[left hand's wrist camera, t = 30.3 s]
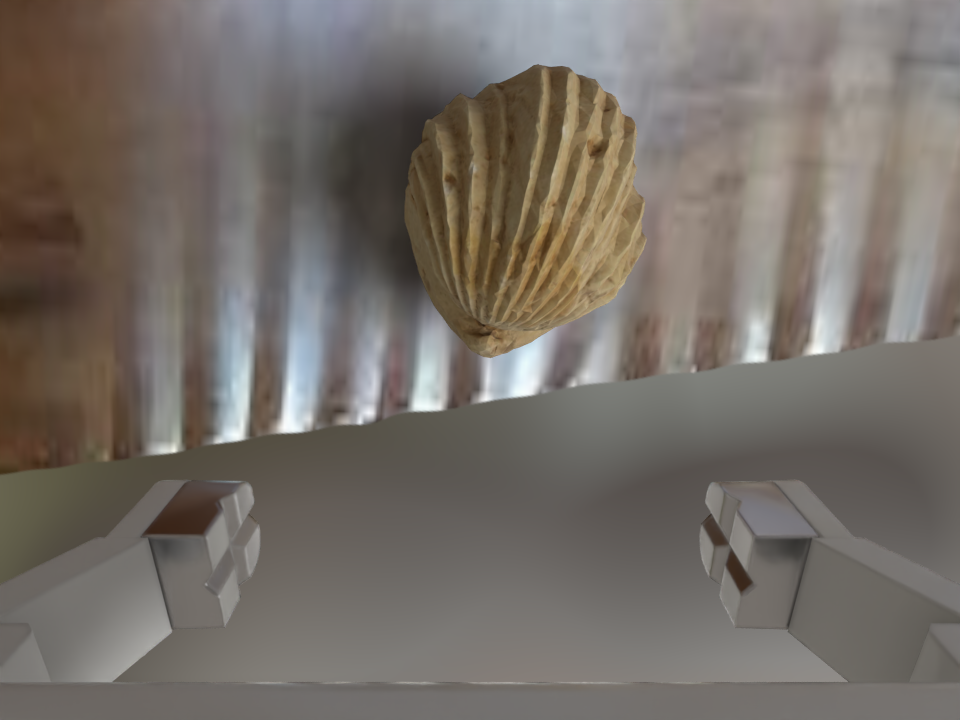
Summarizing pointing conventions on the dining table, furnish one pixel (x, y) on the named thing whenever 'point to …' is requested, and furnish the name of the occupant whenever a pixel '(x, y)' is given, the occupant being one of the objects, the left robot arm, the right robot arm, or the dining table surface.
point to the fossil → (524, 207)
